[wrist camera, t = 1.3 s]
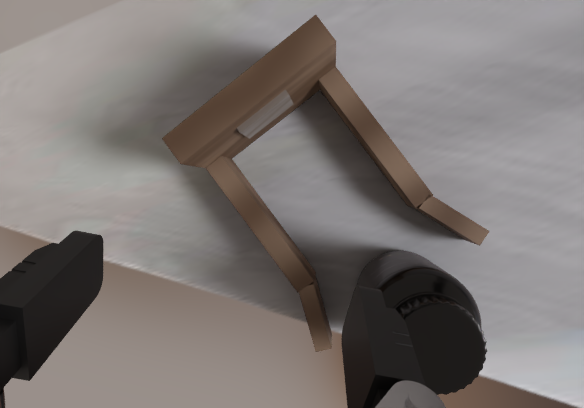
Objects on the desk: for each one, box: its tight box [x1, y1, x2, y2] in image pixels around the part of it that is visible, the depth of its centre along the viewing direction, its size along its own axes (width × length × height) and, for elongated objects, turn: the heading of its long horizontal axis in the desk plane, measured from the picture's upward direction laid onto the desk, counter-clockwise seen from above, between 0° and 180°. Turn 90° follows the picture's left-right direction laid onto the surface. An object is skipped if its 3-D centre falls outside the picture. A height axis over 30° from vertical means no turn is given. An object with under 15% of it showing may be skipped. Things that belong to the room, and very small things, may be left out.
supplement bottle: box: [357, 251, 487, 395], centre depth 26 cm, size 7×7×12 cm
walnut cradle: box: [162, 15, 489, 352], centre depth 28 cm, size 18×15×8 cm
